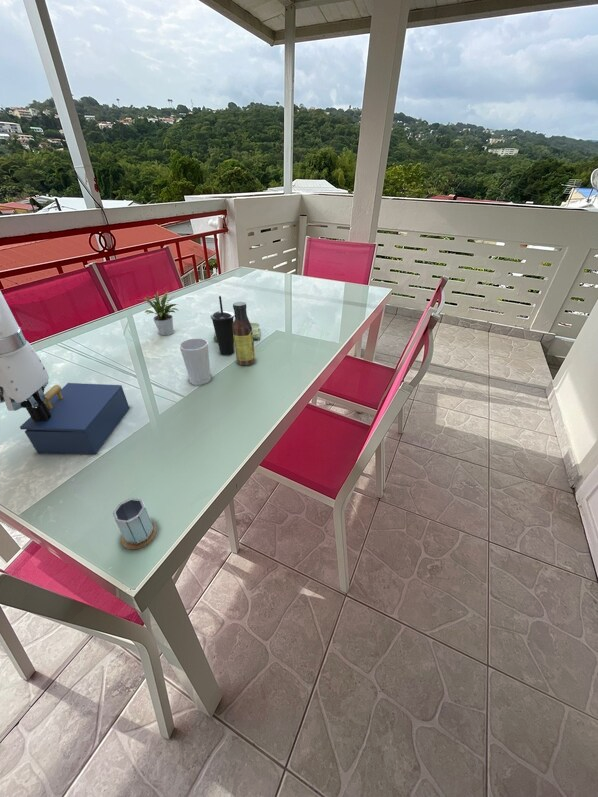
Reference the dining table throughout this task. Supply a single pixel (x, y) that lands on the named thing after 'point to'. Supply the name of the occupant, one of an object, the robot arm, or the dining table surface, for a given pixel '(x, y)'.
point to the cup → (196, 360)
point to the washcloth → (254, 329)
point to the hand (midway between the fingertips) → (42, 418)
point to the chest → (81, 440)
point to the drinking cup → (224, 330)
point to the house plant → (162, 314)
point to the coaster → (134, 547)
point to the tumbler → (133, 521)
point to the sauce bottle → (243, 335)
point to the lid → (73, 406)
